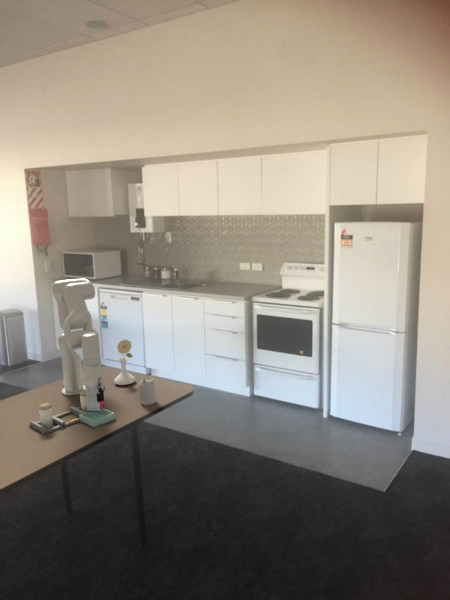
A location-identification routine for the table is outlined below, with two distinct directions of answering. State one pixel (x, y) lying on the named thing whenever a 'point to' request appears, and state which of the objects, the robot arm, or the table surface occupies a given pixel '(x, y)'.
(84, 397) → the cylinder
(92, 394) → the supplement box
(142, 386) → the can
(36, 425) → the clip holder
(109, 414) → the tray
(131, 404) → the table surface
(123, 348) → the flower in vase
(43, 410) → the fuse
